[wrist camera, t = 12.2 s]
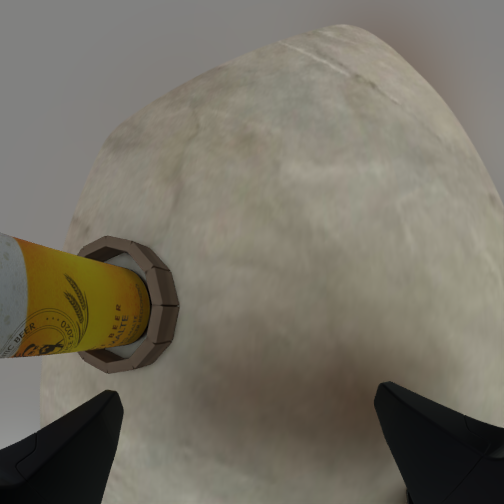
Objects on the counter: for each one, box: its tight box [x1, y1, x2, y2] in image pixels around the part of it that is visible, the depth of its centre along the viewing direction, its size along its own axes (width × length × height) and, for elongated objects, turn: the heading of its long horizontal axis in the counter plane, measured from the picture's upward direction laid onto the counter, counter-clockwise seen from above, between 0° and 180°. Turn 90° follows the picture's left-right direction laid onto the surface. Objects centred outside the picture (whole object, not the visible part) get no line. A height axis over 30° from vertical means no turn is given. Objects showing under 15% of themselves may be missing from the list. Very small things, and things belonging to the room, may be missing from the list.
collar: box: [77, 236, 179, 374], centre depth 19 cm, size 10×10×2 cm
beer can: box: [0, 233, 150, 358], centre depth 13 cm, size 6×6×15 cm
